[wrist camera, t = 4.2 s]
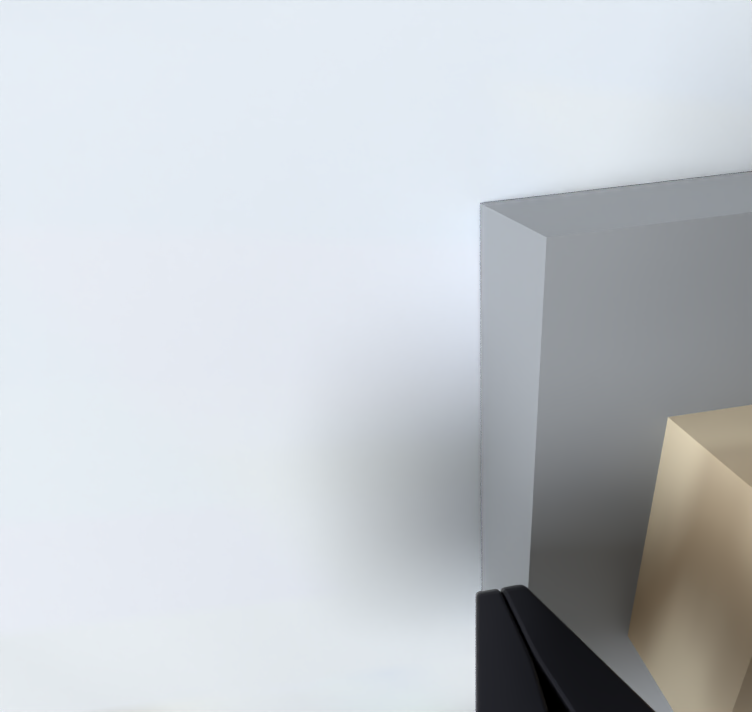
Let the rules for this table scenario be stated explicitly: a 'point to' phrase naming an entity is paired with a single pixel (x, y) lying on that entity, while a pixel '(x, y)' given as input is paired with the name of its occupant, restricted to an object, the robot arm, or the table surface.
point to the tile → (699, 565)
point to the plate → (602, 382)
